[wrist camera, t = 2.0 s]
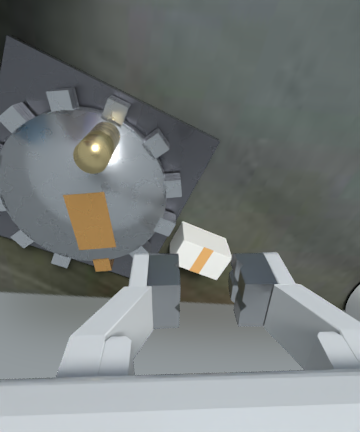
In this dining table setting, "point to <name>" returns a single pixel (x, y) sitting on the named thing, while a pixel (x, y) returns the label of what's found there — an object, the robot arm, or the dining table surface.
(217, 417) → the robot arm
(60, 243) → the sprocket
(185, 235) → the link block
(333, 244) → the dining table surface
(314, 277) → the dining table surface
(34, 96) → the base plate
